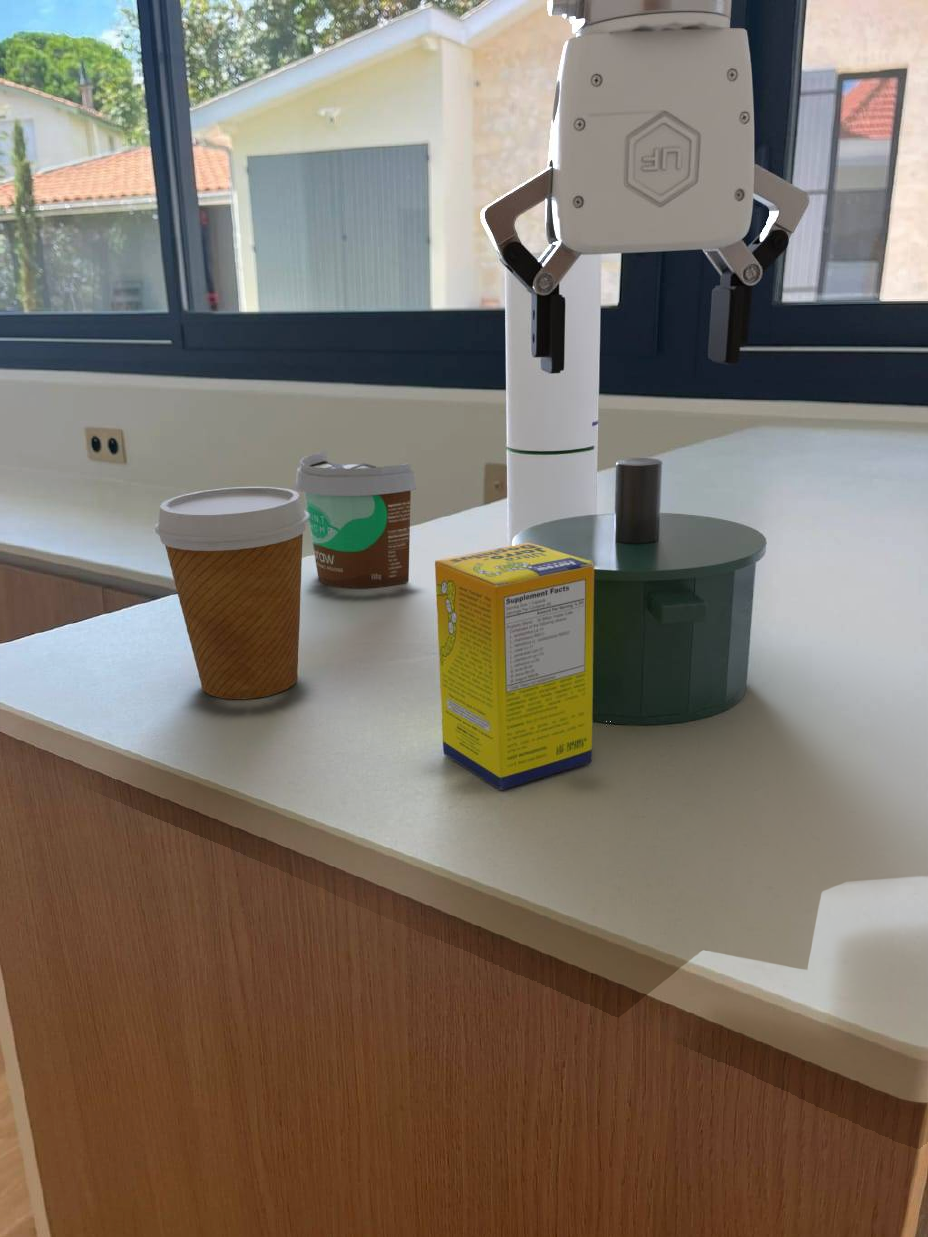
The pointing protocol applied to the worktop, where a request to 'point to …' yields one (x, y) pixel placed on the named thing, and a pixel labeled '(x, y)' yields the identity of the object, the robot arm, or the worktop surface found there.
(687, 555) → the lid
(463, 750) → the supplement box
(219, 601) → the disposable coffee cup
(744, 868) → the worktop surface
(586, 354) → the cylindrical container
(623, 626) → the pot
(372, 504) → the food container
